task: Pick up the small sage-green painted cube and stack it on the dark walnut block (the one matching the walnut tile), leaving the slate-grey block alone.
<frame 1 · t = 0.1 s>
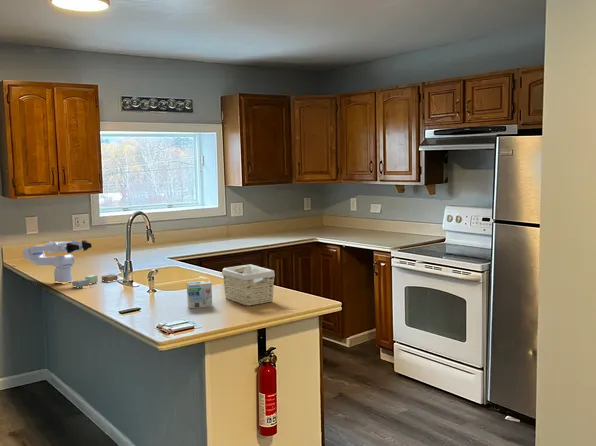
hand: (84, 246, 312), 22 cm above the worktop, tool horizontal, fingers open, 7 cm apart
slate block: (81, 287, 311), on the worktop, tilted 5°, touching walnut tile
walnut block: (109, 281, 325), on the worktop
light bulb box: (200, 306, 263), on the worktop
sage cube: (91, 284, 320), on the worktop
walnut tile: (87, 287, 309), on the worktop
storage basket: (248, 300, 271), on the worktop
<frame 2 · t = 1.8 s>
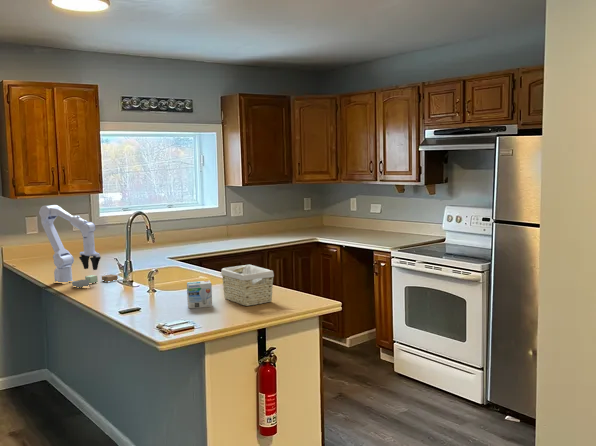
hand: (90, 269, 319), 8 cm above the worktop, tool pointing down, fingers open, 7 cm apart
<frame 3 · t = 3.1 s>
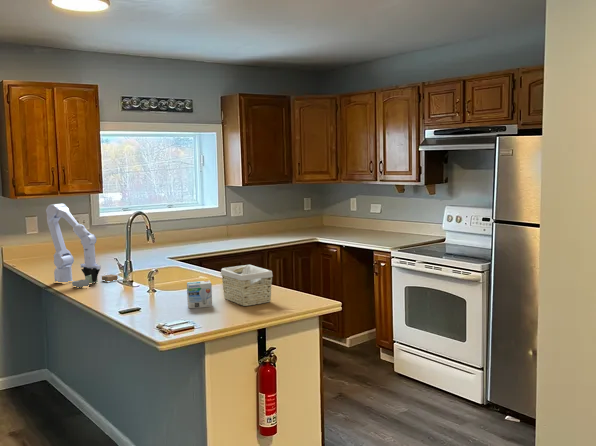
hand: (91, 281, 320), 1 cm above the worktop, tool pointing down, fingers closed on sage cube, 4 cm apart
sage cube: (91, 283, 320), on the worktop, touching gripper
when the fingers open (6 cm above the worktop, at t = 5.5 s): sage cube drops 1 cm, point 3 cm above the worktop.
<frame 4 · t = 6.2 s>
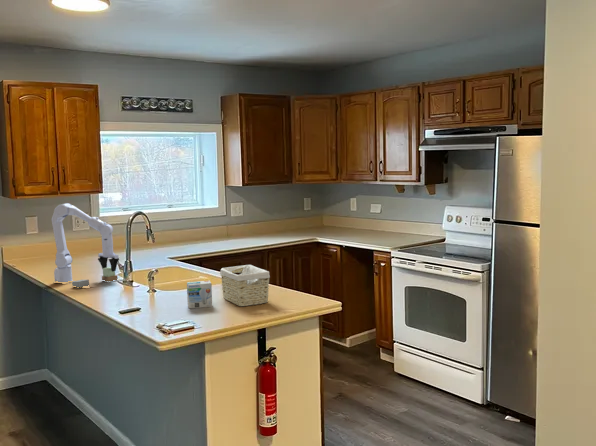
hand: (109, 270, 325), 6 cm above the worktop, tool pointing down, fingers open, 7 cm apart
sage cube: (109, 275, 325), point 3 cm above the worktop
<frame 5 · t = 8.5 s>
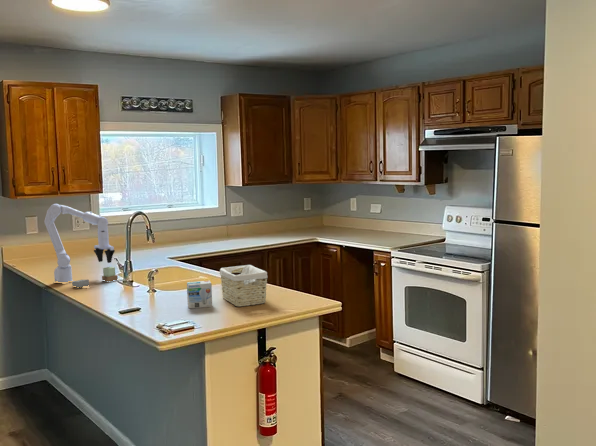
hand: (104, 262, 330), 10 cm above the worktop, tool pointing down, fingers open, 7 cm apart
walnut block: (110, 281, 325), on the worktop, touching sage cube
sage cube: (109, 275, 325), point 3 cm above the worktop, touching walnut block
at the end: sage cube 0.1 cm off-centre on the walnut block, point 3.5 cm above the walnut block's base; sage cube tilted 0°; slate block moved 0.3 cm from its start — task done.
